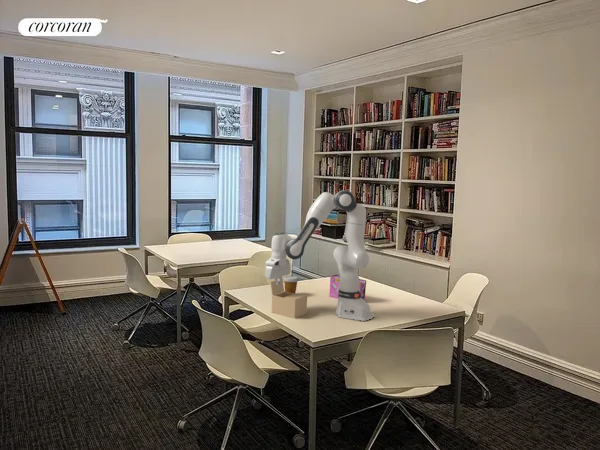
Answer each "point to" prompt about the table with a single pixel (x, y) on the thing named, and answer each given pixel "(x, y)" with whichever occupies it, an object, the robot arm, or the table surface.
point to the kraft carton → (289, 304)
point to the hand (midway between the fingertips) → (277, 284)
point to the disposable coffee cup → (290, 284)
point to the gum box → (336, 284)
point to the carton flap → (276, 287)
